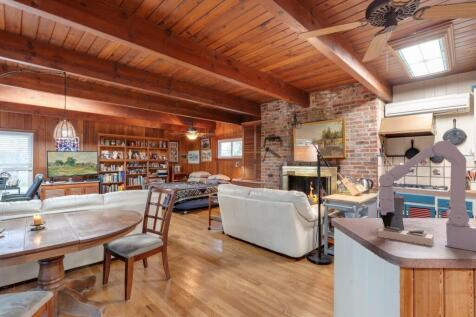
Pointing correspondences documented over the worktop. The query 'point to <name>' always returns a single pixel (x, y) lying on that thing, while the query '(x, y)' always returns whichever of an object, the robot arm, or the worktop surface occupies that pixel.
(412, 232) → the rocker
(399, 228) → the rocker
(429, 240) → the power strip
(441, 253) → the worktop surface
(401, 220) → the moka pot
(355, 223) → the worktop surface
